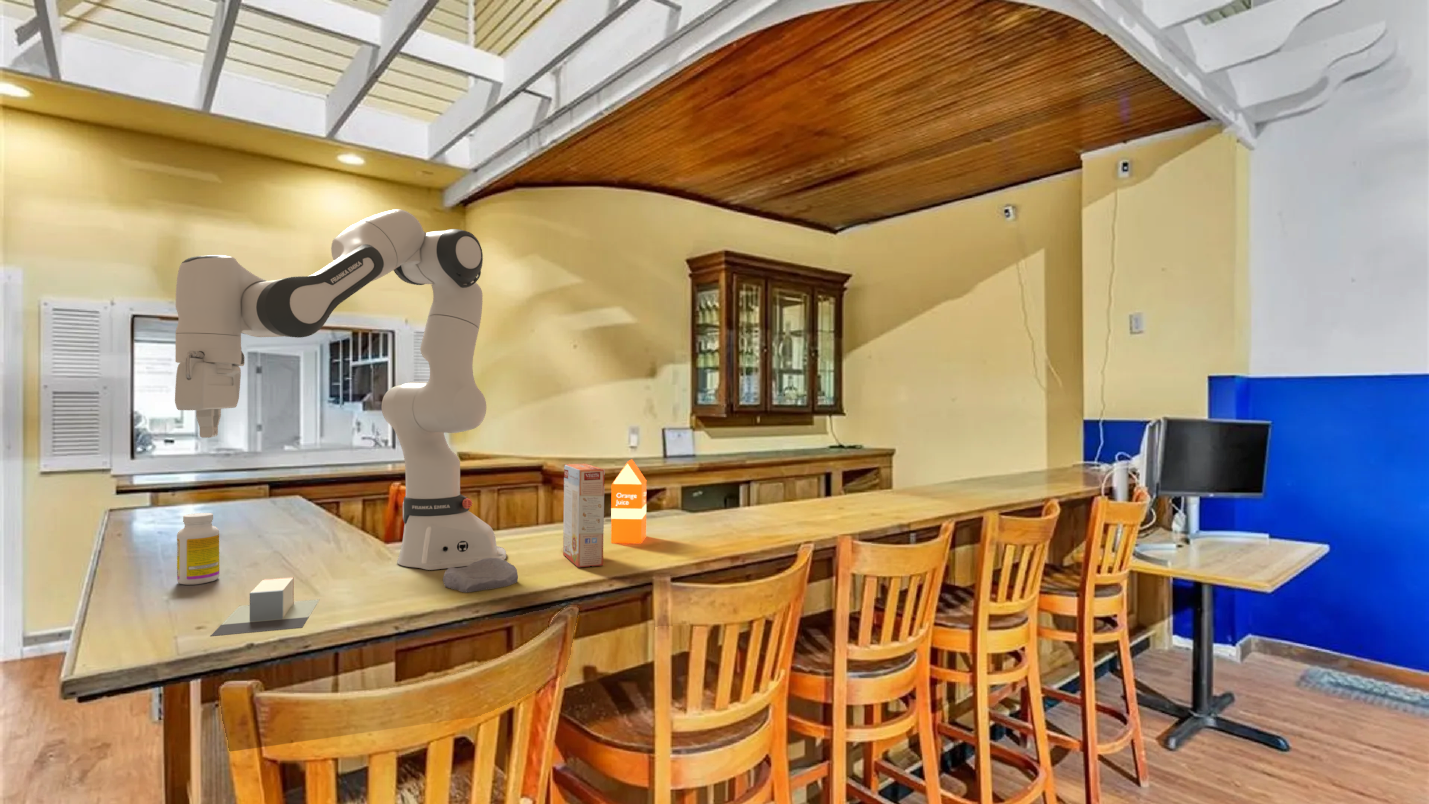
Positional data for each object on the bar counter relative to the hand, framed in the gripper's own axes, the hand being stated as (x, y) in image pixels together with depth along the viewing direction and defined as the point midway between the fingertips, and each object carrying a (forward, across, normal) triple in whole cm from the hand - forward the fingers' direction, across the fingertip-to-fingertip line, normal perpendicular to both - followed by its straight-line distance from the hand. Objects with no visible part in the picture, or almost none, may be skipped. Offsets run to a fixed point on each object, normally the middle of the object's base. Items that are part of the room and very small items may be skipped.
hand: (208, 437), depth 118 cm
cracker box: (+29, +18, -65) cm, 74 cm away
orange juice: (+29, +37, -80) cm, 93 cm away
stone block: (+30, +4, -44) cm, 53 cm away
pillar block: (+26, -9, -10) cm, 30 cm away
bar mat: (+29, -6, -10) cm, 31 cm away
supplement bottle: (+29, +24, +8) cm, 39 cm away
